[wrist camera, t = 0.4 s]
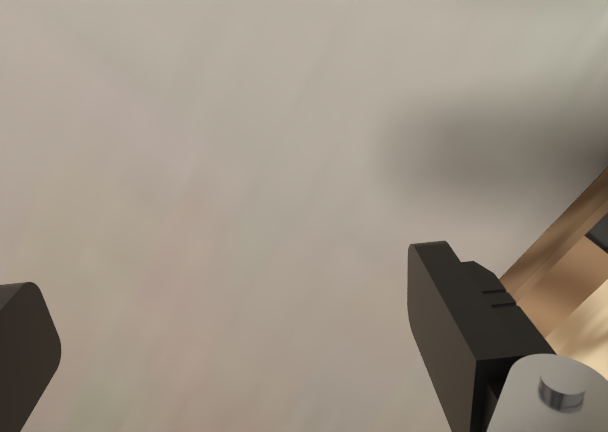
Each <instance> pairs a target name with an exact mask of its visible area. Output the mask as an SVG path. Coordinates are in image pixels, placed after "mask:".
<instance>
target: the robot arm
mask: <svg viewBox="0 0 608 432" xmlns="http://www.w3.org/2000/svg"><path fill="white" fill-rule="evenodd" d="M407 306H408V316H409V322H410V326H411V330H412V333H413V336H414V338H415V341H416V343H417V346H418V348H419V351H420V353H421V356H422V358H423V361H424V363H425V366H426V368H427V371H428V373H429V376H430V378H431V381H432V383H433V386H434V388H435V391H436V393H437V396H438V398H439V401H440V403H441V406H442V408H443V411H444V413H445V416H446V418H447V421H448V423H449V426H450V428H451V431H452V432H608V381H607V380H606V379H605V378H604V377H603V376H602V375H601V374H600V373H598V372H597V371H596V370H594V369H592V368H591V367H589V366H587V365H586V364H583V363H581V362H579V361H577V360H574V359H571V358H568V357H564V356H560V355H557V354H556V352H555V351H554V350H553V349H552V347H551V346H550V345H549V343H548V342H547V341H546V340H545V338H544V337H543V336H542V334H541V333H540V332H539V331H538V329H537V328H536V327H535V325H534V324H533V323H532V322H531V320H530V319H529V318H528V316H527V315H526V314H525V313H524V311H523V310H522V309H521V308H520V306H517V304H516V301H515V300H514V299H513V297H512V296H511V295H510V293H509V292H506V288H505V287H504V286H503V284H502V283H501V282H500V281H499V279H498V278H497V277H496V275H495V274H494V273H493V272H491V271H489V270H488V269H486V268H484V267H483V266H481V265H479V264H478V263H476V262H474V261H469V262H460V260H459V259H458V257H457V256H456V254H455V253H454V251H453V250H452V248H451V247H450V246H449V244H448V243H447V242H446V241H437V242H427V243H417V244H410V246H409V249H408V293H407ZM60 358H61V343H60V339H59V336H58V333H57V331H56V328H55V326H54V323H53V321H52V318H51V316H50V313H49V311H48V308H47V306H46V303H45V301H44V298H43V296H42V293H41V291H40V289H39V287H38V286H37V285H36V284H34V283H32V282H25V283H15V284H5V285H0V432H20V431H21V429H22V428H23V426H24V424H25V423H26V421H27V419H28V417H29V416H30V414H31V412H32V411H33V409H34V407H35V406H36V404H37V402H38V401H39V399H40V397H41V395H42V394H43V392H44V390H45V389H46V387H47V385H48V384H49V382H50V380H51V378H52V377H53V375H54V373H55V372H56V370H57V368H58V366H59V363H60Z"/></svg>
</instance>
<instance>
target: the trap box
mask: <svg viewBox="0 0 608 432" xmlns="http://www.w3.org/2000/svg"><path fill="white" fill-rule="evenodd" d="M607 279H608V168H607V169H606V170H605V171H604V172H603V173H602V174H601V175H600V176H599V177H598V178H597V179H596V180H595V181H594V182H593V183H592V184H591V185H590V186H589V187H588V188H587V189H586V190H585V191H584V192H583V193H582V195H581V196H580V197H579V198H578V199H577V200H576V201H575V202H574V203H573V204H572V205H571V206H570V207H569V208H568V209H567V210H566V211H565V212H564V213H563V214H562V215H561V216H560V217H559V218H558V219H557V220H556V221H555V222H554V223H553V224H552V226H551V227H550V228H549V229H548V230H547V231H546V232H545V233H544V234H543V235H542V236H541V237H540V238H539V239H538V240H537V241H536V242H535V243H534V244H533V245H532V246H531V247H530V248H529V249H528V250H527V251H526V252H525V253H524V254H523V255H522V257H521V258H520V259H519V260H518V261H517V262H516V263H515V264H514V265H513V266H512V267H511V268H510V269H509V270H508V271H507V272H506V273H505V274H504V275H503V276H502V277H501V278H500V279H499V281H500V282H501V283H502V284H503V286H504V287H505V288H506V292H509V293H510V295H511V296H512V297H513V299H514V300H515V301H516V304H517V306H520V308H521V309H522V310H523V311H524V313H525V314H526V315H527V316H528V318H529V319H530V320H531V322H532V323H533V324H534V325H535V327H536V328H537V329H538V331H539V332H540V333H541V334H542V336H543V337H544V338H546V337H547V336H548V335H549V334H550V333H551V332H552V331H553V330H554V329H555V328H556V327H557V326H559V325H560V324H561V323H562V322H563V321H564V320H565V319H566V318H567V317H568V316H569V315H570V314H571V313H572V312H573V311H574V310H575V309H577V308H578V307H579V306H580V305H581V304H582V303H583V302H584V301H585V300H586V299H587V298H588V297H589V296H590V295H591V294H592V293H594V292H595V291H596V290H597V289H598V288H599V287H600V286H601V285H602V284H603V283H604V282H605V281H606V280H607Z"/></svg>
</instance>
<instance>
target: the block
mask: <svg viewBox="0 0 608 432" xmlns="http://www.w3.org/2000/svg"><path fill="white" fill-rule="evenodd" d="M545 340H546V341H547V342H548V343H549V345H550V346H551V347H552V349H553V350H554V351H555V352H556V354H557V355H560V356H564V357H568V358H571V359H574V360H577V361H579V362H581V363H583V364H586V365H587V366H589V367H591V368H592V369H594V370H596V371H597V372H598V373H600V374H601V375H602V376H603V377H604V378H605V379H606V380H607V381H608V279H607V280H606V281H605V282H604V283H603V284H602V285H601V286H600V287H599V288H598V289H597V290H596V291H595V292H594V293H592V294H591V295H590V296H589V297H588V298H587V299H586V300H585V301H584V302H583V303H582V304H581V305H580V306H579V307H578V308H577V309H575V310H574V311H573V312H572V313H571V314H570V315H569V316H568V317H567V318H566V319H565V320H564V321H563V322H562V323H561V324H560V325H559V326H557V327H556V328H555V329H554V330H553V331H552V332H551V333H550V334H549V335H548V336H547V337H546V338H545Z"/></svg>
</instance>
